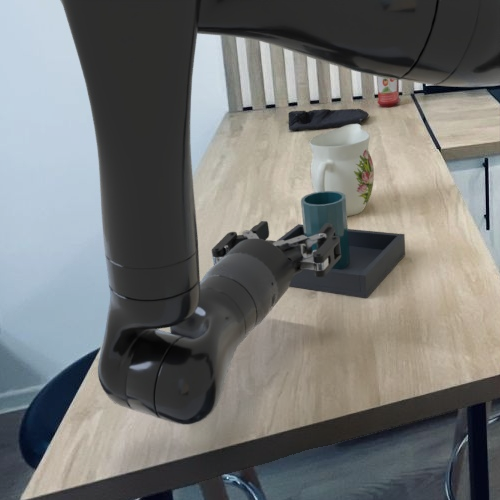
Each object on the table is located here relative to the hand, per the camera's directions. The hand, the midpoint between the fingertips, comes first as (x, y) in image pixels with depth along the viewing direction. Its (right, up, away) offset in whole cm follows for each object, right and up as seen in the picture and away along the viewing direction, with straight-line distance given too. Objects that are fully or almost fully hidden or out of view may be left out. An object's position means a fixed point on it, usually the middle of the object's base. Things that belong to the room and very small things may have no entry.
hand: (297, 229), depth 82 cm
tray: (+6, -5, +14) cm, 16 cm away
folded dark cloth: (+16, +33, +102) cm, 109 cm away
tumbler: (+6, -4, +14) cm, 16 cm away
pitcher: (+11, +4, +35) cm, 37 cm away
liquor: (+36, +41, +115) cm, 127 cm away
